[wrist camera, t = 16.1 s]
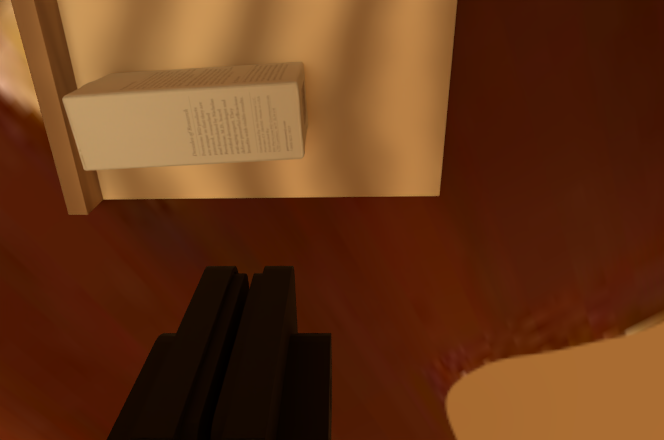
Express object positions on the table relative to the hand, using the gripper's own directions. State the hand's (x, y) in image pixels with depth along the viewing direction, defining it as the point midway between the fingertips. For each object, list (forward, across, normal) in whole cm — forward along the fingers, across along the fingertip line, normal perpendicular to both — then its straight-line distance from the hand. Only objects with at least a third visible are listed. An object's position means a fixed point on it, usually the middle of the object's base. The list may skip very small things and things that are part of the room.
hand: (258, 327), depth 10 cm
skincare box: (+20, 0, 0) cm, 20 cm away
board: (+24, +4, 0) cm, 24 cm away
